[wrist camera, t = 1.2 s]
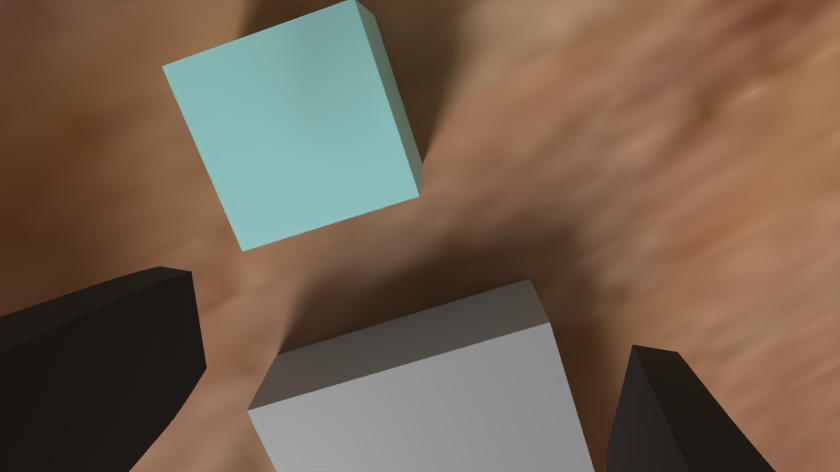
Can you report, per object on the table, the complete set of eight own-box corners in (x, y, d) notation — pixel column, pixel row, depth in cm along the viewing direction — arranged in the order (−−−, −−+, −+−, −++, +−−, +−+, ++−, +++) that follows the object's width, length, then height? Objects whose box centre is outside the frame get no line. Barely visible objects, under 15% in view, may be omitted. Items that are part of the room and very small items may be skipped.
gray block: (368, 545, 24) (356, 634, 21) (279, 350, 22) (246, 411, 18) (592, 487, 23) (624, 570, 20) (528, 274, 21) (549, 322, 17)
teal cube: (288, 206, 20) (242, 251, 15) (231, 66, 18) (161, 66, 14) (422, 163, 19) (419, 196, 14) (374, 15, 18) (353, -3, 13)
